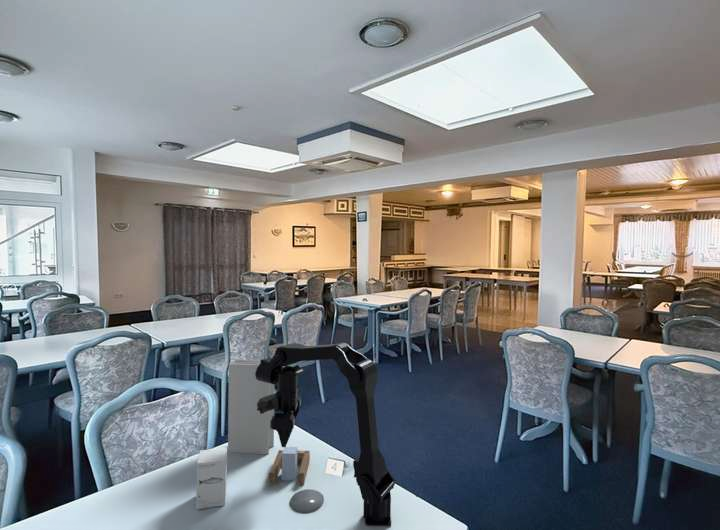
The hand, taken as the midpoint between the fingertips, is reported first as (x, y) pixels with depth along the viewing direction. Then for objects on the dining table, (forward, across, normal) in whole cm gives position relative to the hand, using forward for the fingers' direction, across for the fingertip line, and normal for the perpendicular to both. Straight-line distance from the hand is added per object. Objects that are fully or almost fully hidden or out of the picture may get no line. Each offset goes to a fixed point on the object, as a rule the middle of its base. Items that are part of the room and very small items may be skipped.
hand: (286, 439), depth 116 cm
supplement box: (+13, +9, -18) cm, 24 cm away
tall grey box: (+13, -19, -15) cm, 27 cm away
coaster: (+12, +10, +8) cm, 18 cm away
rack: (+13, -4, +1) cm, 13 cm away
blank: (+13, -2, +1) cm, 13 cm away
